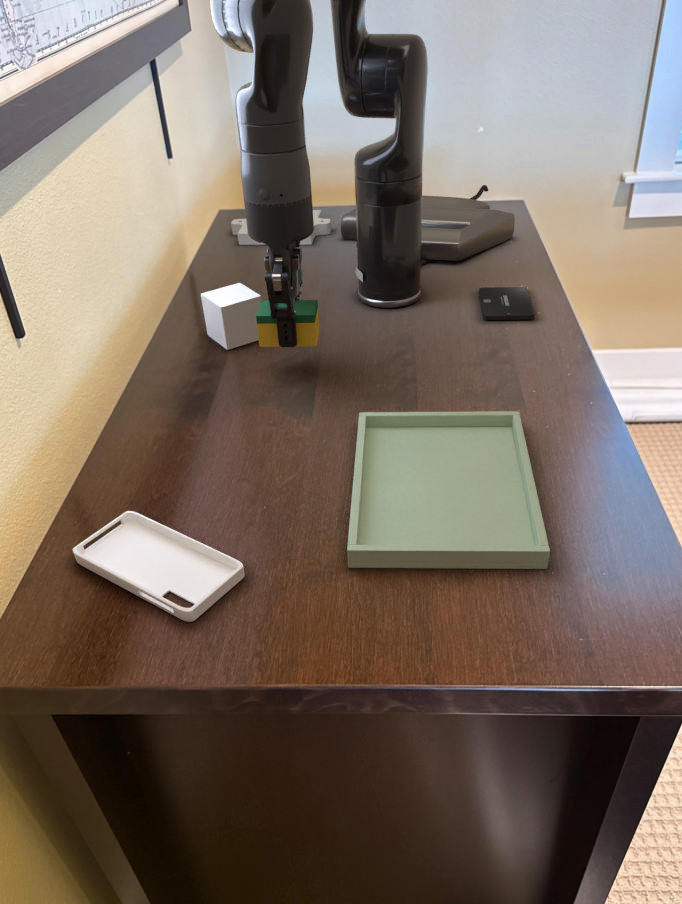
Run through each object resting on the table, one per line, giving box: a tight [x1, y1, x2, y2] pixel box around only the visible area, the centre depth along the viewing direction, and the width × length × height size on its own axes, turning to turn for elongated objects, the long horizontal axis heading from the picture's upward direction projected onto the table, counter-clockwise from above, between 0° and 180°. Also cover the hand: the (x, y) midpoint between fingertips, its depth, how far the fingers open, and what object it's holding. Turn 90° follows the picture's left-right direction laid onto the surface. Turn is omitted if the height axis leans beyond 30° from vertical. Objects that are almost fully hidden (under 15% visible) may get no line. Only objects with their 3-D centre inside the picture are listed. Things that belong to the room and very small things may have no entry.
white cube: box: [200, 282, 263, 351], centre depth 105 cm, size 6×6×6 cm
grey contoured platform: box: [340, 194, 516, 262], centre depth 133 cm, size 28×5×28 cm
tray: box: [346, 410, 551, 570], centre depth 77 cm, size 24×18×2 cm
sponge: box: [256, 299, 321, 348], centre depth 95 cm, size 5×7×4 cm, turn 87°
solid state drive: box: [478, 286, 536, 321], centre depth 111 cm, size 7×10×1 cm
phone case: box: [72, 510, 246, 623], centre depth 70 cm, size 7×1×15 cm
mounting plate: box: [230, 209, 332, 246], centre depth 140 cm, size 18×13×2 cm
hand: (290, 336), depth 96 cm, fingers closed on sponge, 4 cm apart
